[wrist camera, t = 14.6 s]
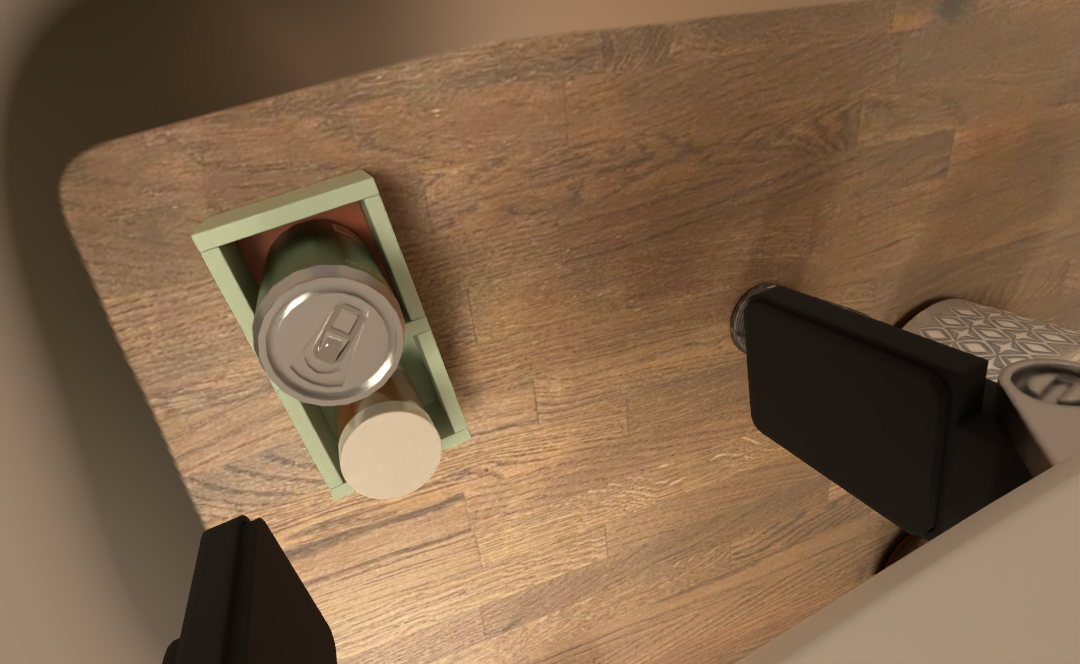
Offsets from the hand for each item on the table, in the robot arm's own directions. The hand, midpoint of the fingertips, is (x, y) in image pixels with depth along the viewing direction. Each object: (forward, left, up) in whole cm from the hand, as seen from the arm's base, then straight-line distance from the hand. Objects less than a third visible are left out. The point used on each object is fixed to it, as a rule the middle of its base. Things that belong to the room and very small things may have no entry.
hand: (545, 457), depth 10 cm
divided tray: (+5, -4, -25) cm, 26 cm away
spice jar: (+8, -4, -24) cm, 26 cm away
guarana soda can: (+1, -4, -24) cm, 25 cm away
